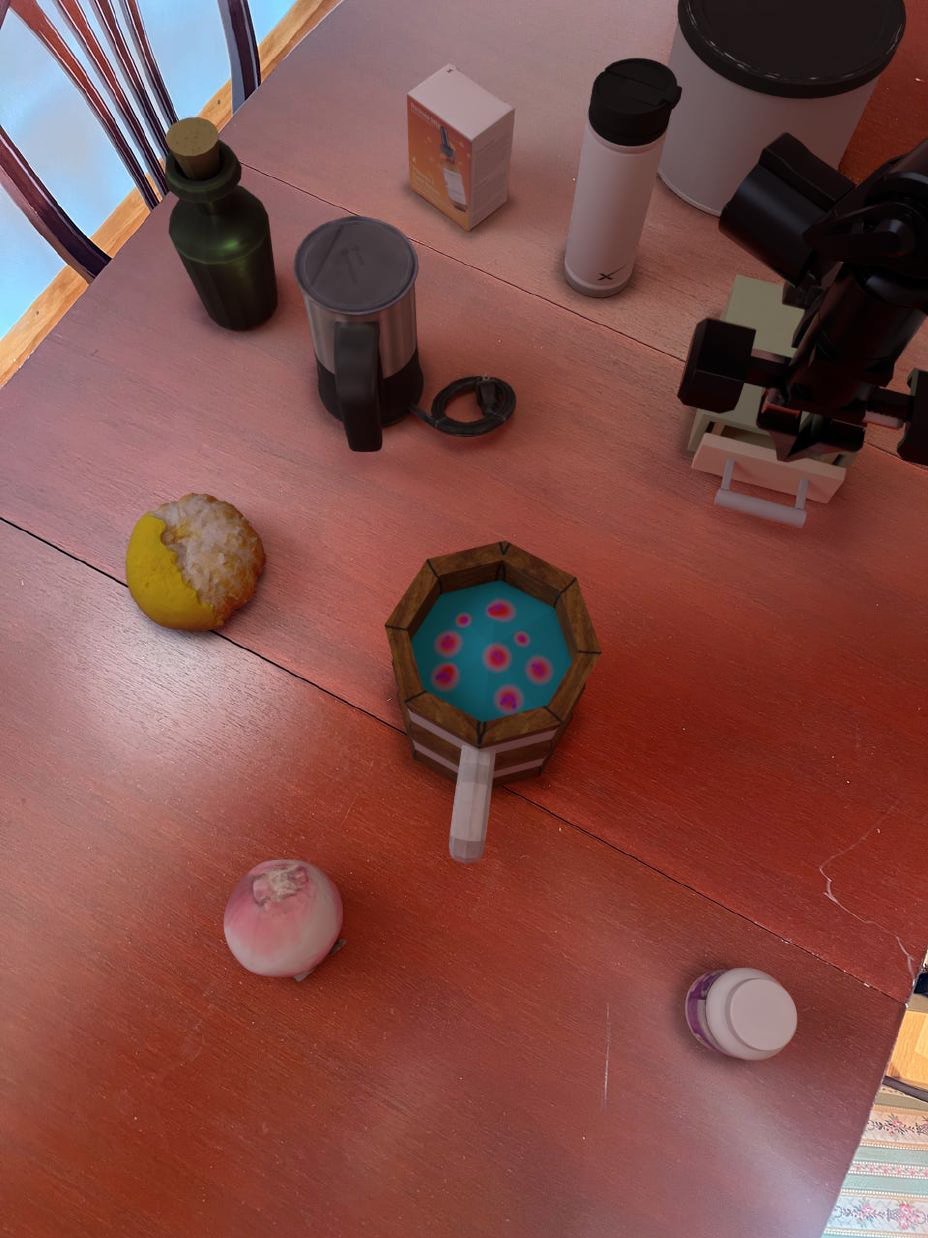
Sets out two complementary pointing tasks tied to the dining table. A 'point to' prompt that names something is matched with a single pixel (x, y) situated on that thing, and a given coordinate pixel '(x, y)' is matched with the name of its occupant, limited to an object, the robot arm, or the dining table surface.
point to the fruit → (193, 563)
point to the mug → (488, 673)
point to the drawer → (764, 473)
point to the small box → (459, 145)
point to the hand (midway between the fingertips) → (782, 456)
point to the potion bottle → (219, 227)
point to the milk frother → (377, 334)
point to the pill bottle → (741, 1013)
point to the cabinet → (774, 334)
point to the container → (769, 84)
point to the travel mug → (617, 172)
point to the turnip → (283, 919)
